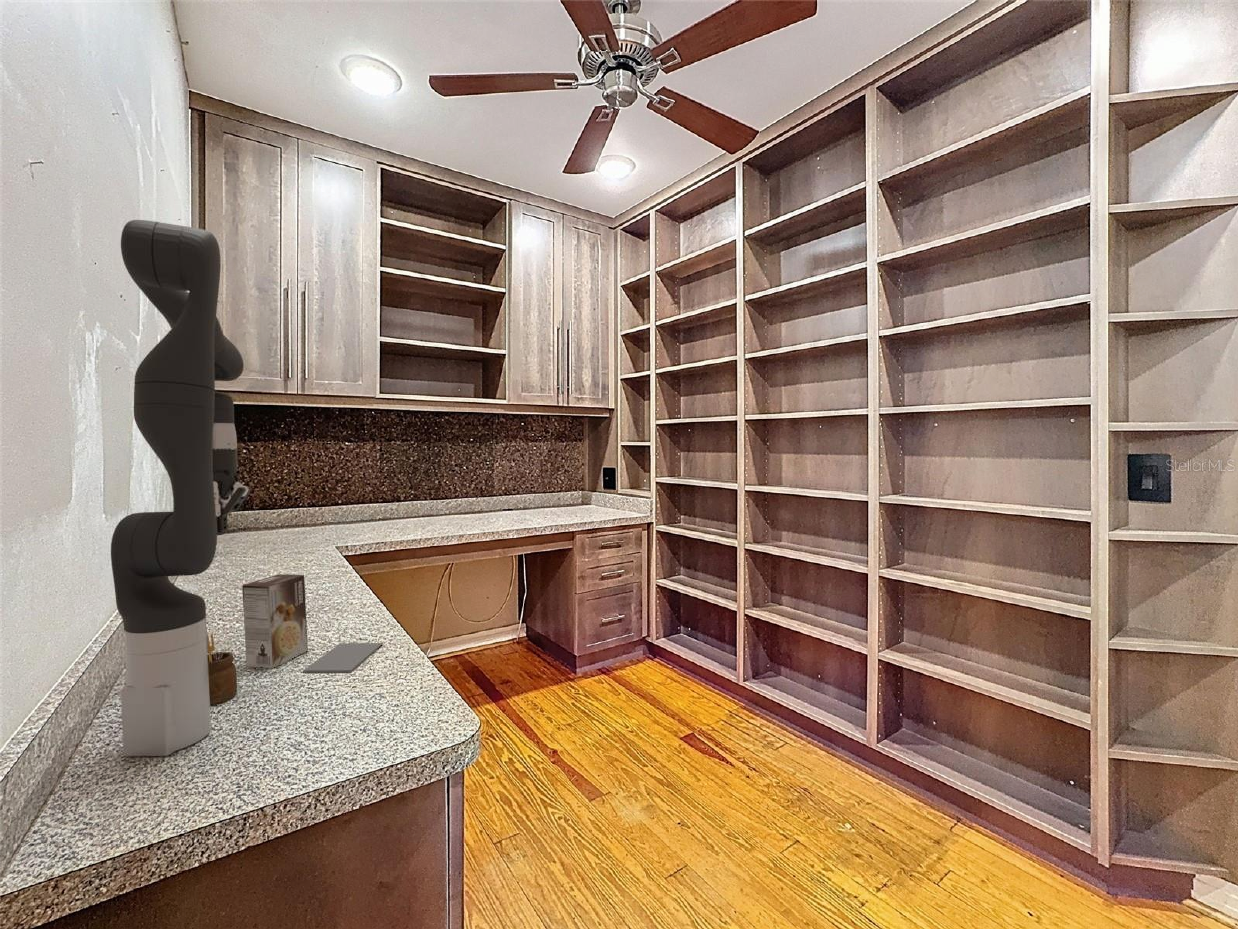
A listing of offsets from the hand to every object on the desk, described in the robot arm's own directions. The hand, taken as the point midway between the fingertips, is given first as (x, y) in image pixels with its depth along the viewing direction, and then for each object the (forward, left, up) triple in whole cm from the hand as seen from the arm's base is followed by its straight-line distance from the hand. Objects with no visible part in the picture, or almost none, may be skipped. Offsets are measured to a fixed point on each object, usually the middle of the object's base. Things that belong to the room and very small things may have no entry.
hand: (217, 534), depth 110 cm
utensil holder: (-17, -11, -25) cm, 32 cm away
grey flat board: (0, -24, -25) cm, 35 cm away
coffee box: (0, -11, -25) cm, 27 cm away
